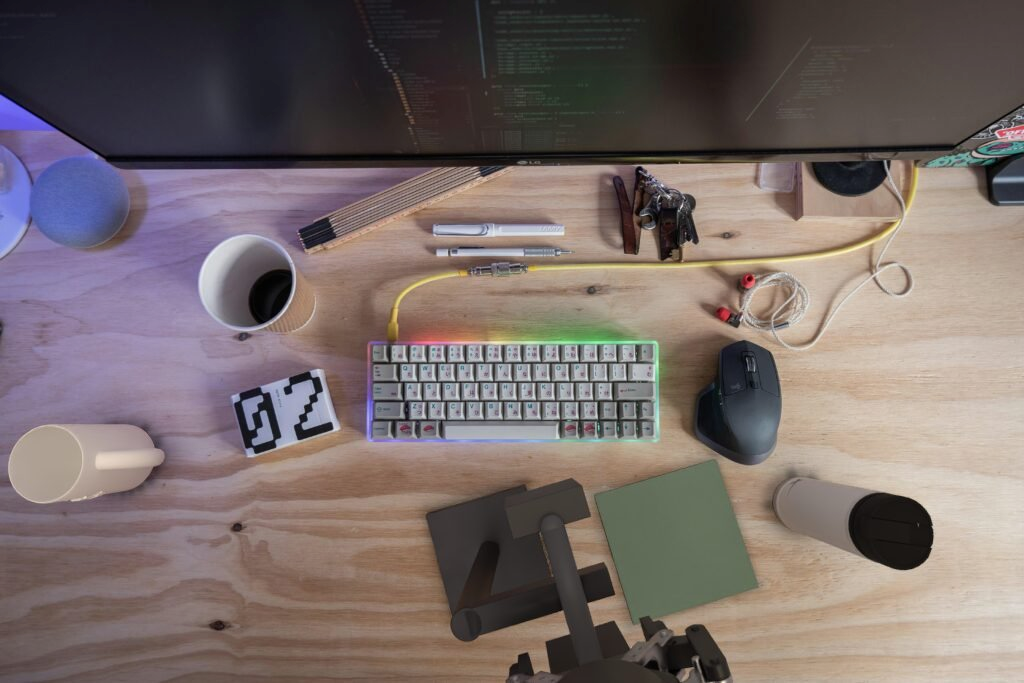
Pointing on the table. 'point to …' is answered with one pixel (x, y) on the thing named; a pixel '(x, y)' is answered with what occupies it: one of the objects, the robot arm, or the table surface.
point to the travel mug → (857, 520)
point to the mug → (81, 461)
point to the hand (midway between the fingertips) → (588, 649)
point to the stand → (498, 568)
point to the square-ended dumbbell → (564, 572)
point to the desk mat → (675, 541)
